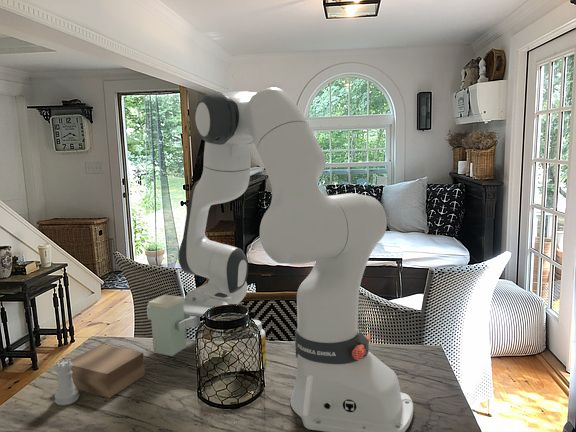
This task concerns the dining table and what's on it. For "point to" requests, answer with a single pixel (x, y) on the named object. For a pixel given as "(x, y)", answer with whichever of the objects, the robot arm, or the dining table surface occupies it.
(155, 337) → the sage tin
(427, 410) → the dining table surface
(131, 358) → the walnut block
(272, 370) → the dining table surface
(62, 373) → the rook chess piece
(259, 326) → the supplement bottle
